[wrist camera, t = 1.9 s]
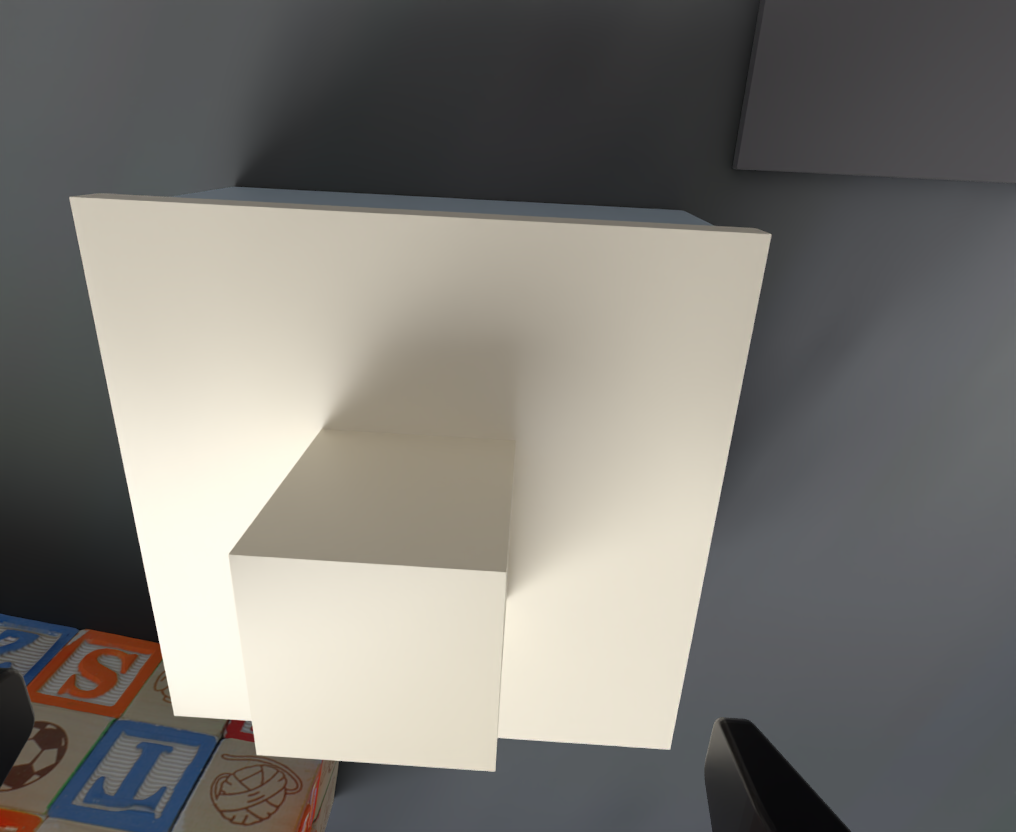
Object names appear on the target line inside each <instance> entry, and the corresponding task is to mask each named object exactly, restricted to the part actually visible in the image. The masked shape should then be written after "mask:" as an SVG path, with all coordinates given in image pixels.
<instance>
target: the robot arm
mask: <svg viewBox="0 0 1016 832" xmlns="http://www.w3.org/2000/svg"><path fill="white" fill-rule="evenodd" d="M34 722H35V713H34V709H33V706H32V703H31V700H30V696H29V693H28V690H27V687H26V684H25V681H24V677H23V675H22V674H21V672H19V671H18V670H17V669H13V668H0V788H1V786H2V784H3V783H4V781H5V779H6V777H7V776H8V774H9V772H10V770H11V769H12V767H13V765H14V763H15V762H16V760H17V758H18V756H19V755H20V753H21V751H22V749H23V748H24V746H25V744H26V742H27V741H28V739H29V737H30V735H31V733H32V730H33V727H34ZM705 785H706V792H707V799H708V805H709V812H710V818H711V825H712V832H851V831H850V830H849V829H848V828H847V826H846V825H845V824H844V823H843V822H842V821H841V820H840V819H839V818H838V816H837V815H836V814H835V813H834V812H833V811H832V810H831V809H830V808H829V806H828V805H827V804H826V803H825V802H824V801H823V800H822V799H821V798H820V797H819V795H818V794H817V793H816V792H815V791H814V790H813V789H812V788H811V787H810V785H809V784H808V783H807V782H806V781H805V780H804V779H803V778H802V777H801V776H800V774H799V773H798V772H797V771H796V770H795V769H794V768H793V767H792V766H791V764H790V763H789V762H788V761H787V760H786V759H785V758H784V757H783V756H782V754H781V753H780V752H779V751H778V750H777V749H776V748H775V747H774V746H773V745H772V743H771V742H770V741H769V740H768V739H767V738H766V737H765V736H764V735H763V733H762V732H761V731H760V730H759V729H758V728H757V727H756V726H755V725H754V724H753V723H752V722H751V721H749V720H747V719H738V718H724V717H721V718H718V719H717V720H716V721H715V723H714V726H713V730H712V734H711V738H710V743H709V747H708V752H707V756H706V761H705Z"/></svg>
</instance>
